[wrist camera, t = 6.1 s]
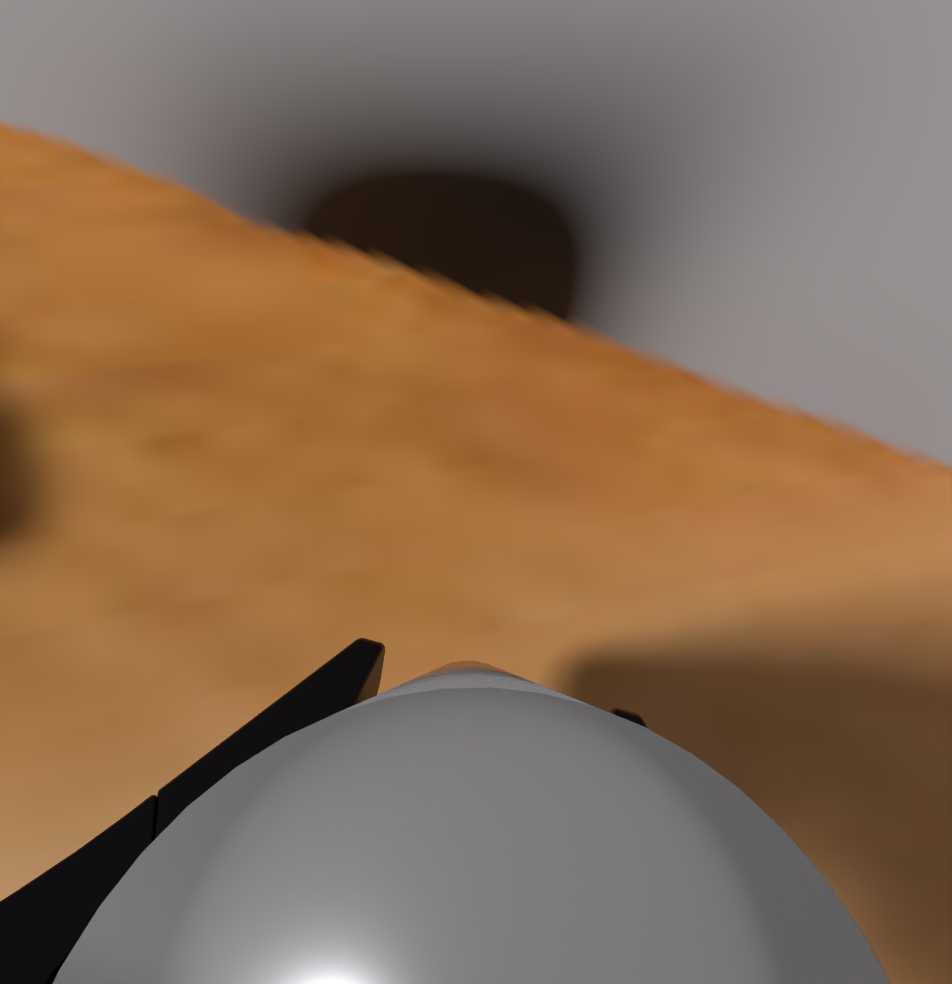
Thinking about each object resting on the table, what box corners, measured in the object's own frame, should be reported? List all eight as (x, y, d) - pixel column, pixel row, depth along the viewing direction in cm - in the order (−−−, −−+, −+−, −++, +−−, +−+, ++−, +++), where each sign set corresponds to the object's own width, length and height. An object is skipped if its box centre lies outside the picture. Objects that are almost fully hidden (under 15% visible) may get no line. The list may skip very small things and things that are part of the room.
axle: (542, 797, 14) (1172, 1984, 2) (404, 812, 14) (-172, 2264, 1) (526, 654, 15) (822, 651, 2) (397, 667, 15) (29, 729, 2)
